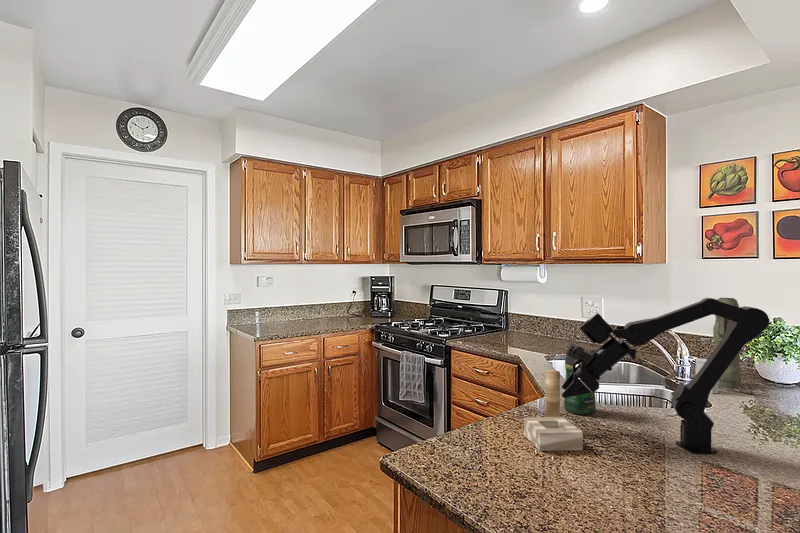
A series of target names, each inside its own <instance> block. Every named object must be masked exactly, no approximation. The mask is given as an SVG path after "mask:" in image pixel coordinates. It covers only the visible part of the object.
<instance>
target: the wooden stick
mask: <svg viewBox="0 0 800 533" xmlns="http://www.w3.org/2000/svg"><path fill="white" fill-rule="evenodd" d="M560 398H561V372H560V371H559V370H554V369H547V370H544V417H561V415H560V414H561V413H560V412H561V409H560V408H561V407H560V405H561V400H560Z"/></svg>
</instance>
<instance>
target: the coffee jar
mask: <svg viewBox="0 0 800 533" xmlns="http://www.w3.org/2000/svg"><path fill="white" fill-rule="evenodd" d="M575 360H576V359H575V358H573V357H569V356H567V355H565V359H564V368H565V381H566V380H567V378H568V377H569V376H570V374H571V373H572V371H573V363H574V361H575ZM574 364H575V363H574ZM575 365H576V364H575ZM565 390H566V389H565ZM565 390H564V391H565ZM563 399H564V400H563V408H564V410H566V411H568V413H571V414H577V415H587V414H591V413H594V412H595V411H596V391H595V392H594V393H593V392H591V393H585V394H580V395H576V396H572V397H567V398H563Z"/></svg>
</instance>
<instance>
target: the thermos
mask: <svg viewBox="0 0 800 533" xmlns="http://www.w3.org/2000/svg"><path fill="white" fill-rule="evenodd" d="M716 300H718V301H720V302H723V303H726V304H730V305H733V306H736V307H740V305H739V303H738V299H735V298H734V297H719V298H716ZM714 317H715V321H714V325H713V326H712V331H713V333H712V334H713V335H712V336H713V337H712V340H713V342H714V349H715V348H716V347H717V345H718V344H719V343H720V341H721V340H722V339H723V337H724V336H725V333H726V329H727V325H728V322H729V319H726V318H723V317H719V316H716V315H714ZM740 352H741V351H740ZM740 352H739V353H738V354H737V356H736V357H735V359H734V360H733V361H732V363H731V364H730V365H729V367H728V368H727V369H726V371H725V372H724V373H723V375H722V376H721V378H720V379H719V387H720V386H722V387H721V388H725V387H731V388H730V389H734V388H737V389H739V388H738V387H741V386H742V385H741V382H742V371H741V368H740V367H741V366H740V363H741V362H740V359H741V358H740ZM741 388H742V387H741Z"/></svg>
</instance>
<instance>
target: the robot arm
mask: <svg viewBox="0 0 800 533" xmlns="http://www.w3.org/2000/svg"><path fill="white" fill-rule="evenodd" d="M711 315H712V316H713V315H714V316H715V315H716V316H719V317H723V318H726V319H729V322H728V325H727V329H726V333H725V336H724V337H723V339H722V340H721V341H720V343H719V344H718V345H717V347H716V348H715V347H714V349H713V351H712V353H711V354H710V355H709V356H708V358H706V359H707V361H706V362H705V363H704V365H703V366H702V368H701V369H700V370H699V372H698V373H697V375H696V374H695V376H694V378H692V380H690V381H689V382H688V383H683V382H682V381H679V383H678V384H677V387H676V389H674V391H672V392H670V394H671V396H672V397H671V400H670V401H671V405H672V407H673V409H674V411H675V412H676V414H677V415H678V416H679V417H680V418H681V420H680V428H679V429H680V436H679V438H680V440H679V441H678V440H676V441H675V442H674V443H675V444H676V445H677V446H679V447H681V448H682V449H684V450H686V451H688V452H690V453H691V454H718V450H716V449H715V448H712V430H713V427H714V425H715V423H714V421H713V420H712V419H711V417H709V415H708V414H707V413H706V412H705V409H706V407H707V404H708V402H709V397H710V391H711V390H712V388H713V387H714V386H715V384H716V383H717V382H718V380H719V379H720V378H721V376H722V375H723V373H724V372H725V371H726V369H727V368H728V367H729V365H730V364H731V363H732V361H733V360H734V359H735V357H736V356H737V354H738V353H739V352H741V350H742V349H743V347H744V346H745V345H747V344H748V343H750V342H751V341H753V340H755V339H756V338H757V337H759V336H760V335H761V334H762V333H763V332H765V330H767V328H768V327H769V325H770V319H769V315H768V314H767V313H766V312H765V311H764V310H763V309H760V308H756V307H752V306H739V307H736V306H733V305H730V304H726V303H723V302H720V301H718V300H717V298H712V297H705V298H702V299H701V300H700V301H699V300H698V301H697V302H695V303H691V304H688V305H686V306H683V307H681V308H678V309H675V310H673V311H670V312H668V313H665V314H662V315H659V316H656V317H651V318H645V319H639V320H634V321H630V322H627V323H626V324H625V325H621V326H619V325H618V326H617V325H615V326H611V325H610V324H609V323H608V321H606V320H605V319H604V318H603V316H602V315H601V314H600V313H597V312H596V314H594V315H593V316H592V317H590V318H588V319H587V320H586V321H584V322H583V323H582V324H581V325H580V326H579V327H578V330H579V331H580V332H582V334H584V336H585V337H586V338H587V339H589V341H590V342H592V344H596V343H597V344H598V345H600V347H599V348H597V349H592V350H591V351H588V350H586V349H585V348H584V347H583V346H580V345H578V344H575V343H573V342H570V343H569V345H568V347H567V349H566V351H565V356H569V357H573V358H575V359H576V360H575V361H574V363H575V364H576V365H575V364H574V363H573V371H572V373H571V374H570V376H569V377H568V378H567V380H566V379H565V381H564V382H563V384H562V385H561V388H562V389H563V390H564V391H563V392H562V394H561V397H562V398H563V399H564V398H567V397H572V396H576V395H580V394H585V393H591V392H593V393H594V392H595V393H596V392H597V391H598V390H599V389H600V382H599V380H600V379H601V376H602V375H604V374H605V373H606V372H611V371H612V370H613V367H614V366H615V365H617V364H618V363H619V362H620V361H622V360H623V359H624V358H625V357H626V356H629V357H630V358H631V359H632V360H636V359H637V357H636V354H637V353H636V352H637V349H636V348H635V347H639V346H643V345H644V344H646V343H649V342H650V341H652V340H654V339H655V338H656V337H659V336H660V335H661V334H663V333H664V332H667V331H669V330H672V329H675V328H677V327H680V326H684V325H686V324H689V323H691V322H695V321H698V320H700V319H703V318H706V317H708V316H711ZM612 334H613V335H614V336H613V335H612ZM615 337H616V338H619V339H620V341H618V339H616V338H615ZM606 340H607V341H606ZM625 341H626V342H625ZM604 342H605V343H604ZM601 344H602V345H601ZM630 345H631V346H635V347H631V346H630ZM565 389H566V390H565Z"/></svg>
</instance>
